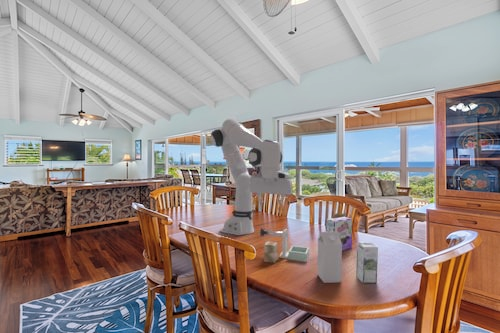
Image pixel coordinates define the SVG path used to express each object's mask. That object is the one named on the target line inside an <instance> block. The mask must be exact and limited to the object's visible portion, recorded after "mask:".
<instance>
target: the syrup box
mask: <svg viewBox="0 0 500 333" xmlns="http://www.w3.org/2000/svg"><path fill="white" fill-rule="evenodd" d="M378 255H379V247H378V246H377V245H376V244H375V243H374V242H373V243H372V242H370V241H369V242H366V241H365V242H363V241H361V242H357V244H356V271H355V272H356V273H355V275H356V276H355V277H356V278H357V279H358V280H359V281H360V282H361V283H362V284H377V283H378V259H379V256H378Z"/></svg>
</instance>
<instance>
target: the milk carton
mask: <svg viewBox="0 0 500 333" xmlns="http://www.w3.org/2000/svg"><path fill="white" fill-rule="evenodd" d="M342 259H343V250H342V243H341V240H340V237H339V235H338V232H326V231H321V232H320V234H319V237H318V238H317V275H318V277H319V278H320V280H321V281H322V283H326V284H327V283H329V284H330V283H334V284H335V283H342V274H343V273H342V272H343V271H342V268H343V266H342V264H343V262H342V261H343V260H342Z"/></svg>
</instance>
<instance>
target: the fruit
mask: <svg viewBox="0 0 500 333" xmlns="http://www.w3.org/2000/svg"><path fill="white" fill-rule="evenodd" d="M340 217H347V215H346V214H345V213H342V212H337V213H335V214H334V215H333V216H332V218H340ZM332 218H331V219H332Z"/></svg>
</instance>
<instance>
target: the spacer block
mask: <svg viewBox="0 0 500 333" xmlns="http://www.w3.org/2000/svg"><path fill="white" fill-rule="evenodd" d="M263 246H264V248H263V249H264V250H263V252H264V253H263V255H264V257H263V258H264V260H263V261H264V262H265V263H272V262H273V263H276V262H277V260H278V242H276V241H269V240H268V241H266V242H265V243H264V245H263Z"/></svg>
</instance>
